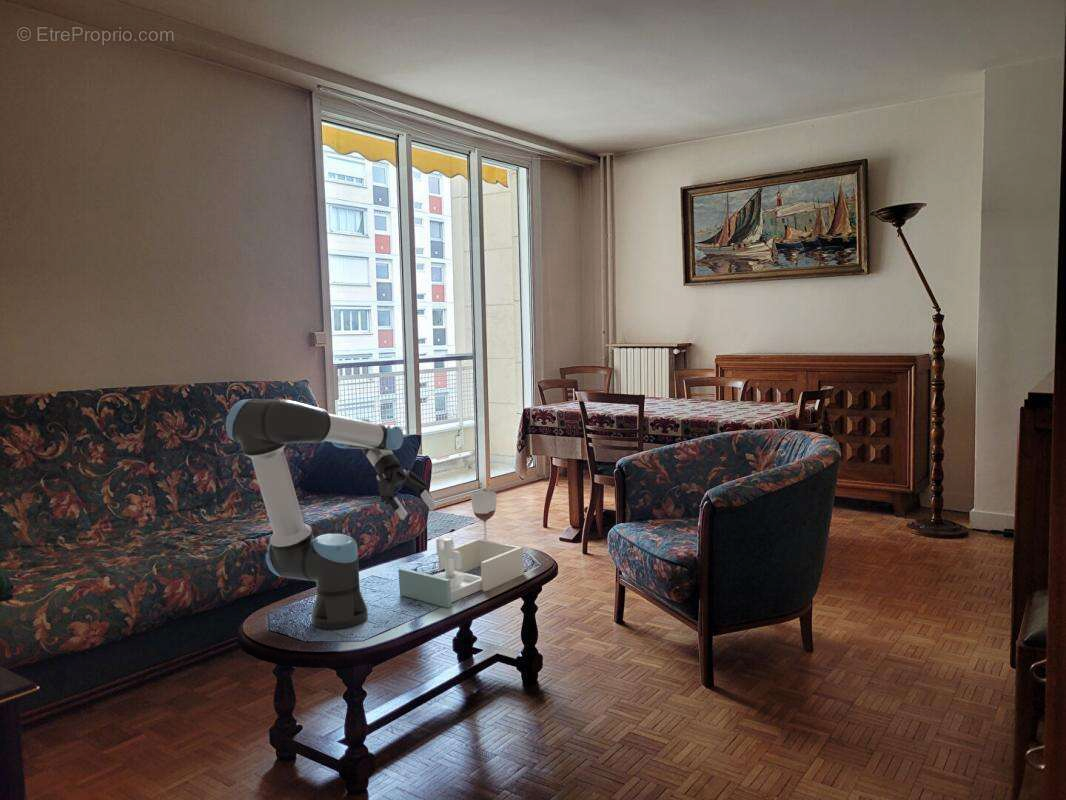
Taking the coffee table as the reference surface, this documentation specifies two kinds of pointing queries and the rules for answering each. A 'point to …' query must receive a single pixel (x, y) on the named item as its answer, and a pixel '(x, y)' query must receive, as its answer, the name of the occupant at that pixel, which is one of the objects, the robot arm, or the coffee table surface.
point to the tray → (435, 587)
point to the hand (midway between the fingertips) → (419, 512)
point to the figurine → (450, 562)
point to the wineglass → (484, 506)
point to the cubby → (490, 561)
